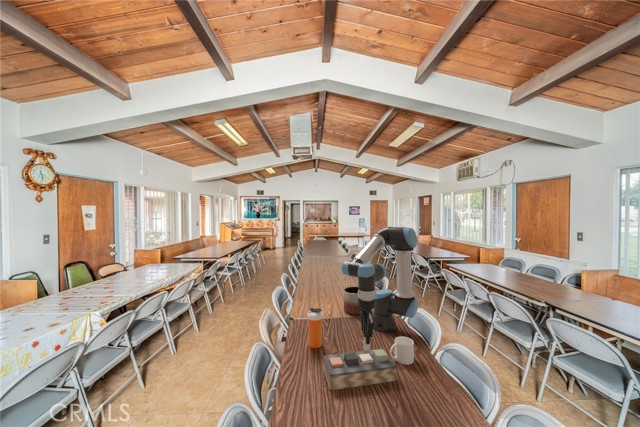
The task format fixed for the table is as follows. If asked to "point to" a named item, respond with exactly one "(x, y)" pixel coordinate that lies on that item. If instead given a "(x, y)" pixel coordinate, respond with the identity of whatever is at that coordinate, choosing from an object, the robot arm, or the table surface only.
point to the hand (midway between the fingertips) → (366, 349)
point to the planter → (351, 301)
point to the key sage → (380, 355)
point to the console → (358, 372)
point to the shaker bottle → (315, 327)
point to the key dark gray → (350, 359)
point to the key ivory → (365, 358)
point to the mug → (403, 350)
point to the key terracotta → (335, 362)
